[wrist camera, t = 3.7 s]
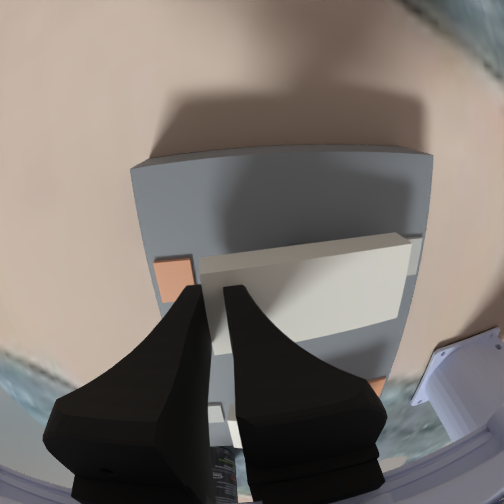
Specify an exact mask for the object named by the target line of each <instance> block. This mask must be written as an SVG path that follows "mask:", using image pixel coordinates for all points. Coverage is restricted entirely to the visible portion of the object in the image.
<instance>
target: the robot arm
mask: <svg viewBox="0 0 504 504" xmlns="http://www.w3.org/2000/svg"><path fill="white" fill-rule="evenodd" d="M223 294H224V301H225V308H226V315H227V322H228V329H229V336H230V343H231V349H232V354H233V362H234V384H235V416H236V421H237V425H238V430H239V435H240V439H241V444H242V448H243V453H244V457H245V463H246V472H247V481H248V485H249V487H250V491H251V495H252V498H253V502H246V503H232V504H504V499H503V500H501V499H502V498H503V497H504V342H503V341H502V340H501V339H500V338H499V337H498V335H499V333H500V328H499V327H496V328H493V329H491V330H489V331H486V332H484V333H481V334H478V335H476V336H473V337H471V338H468V339H465V340H462V341H460V342H457V343H454V344H451V345H448V346H445V347H442V348H439V349H437V350H435V352H434V353H433V355H432V357H431V360H430V362H429V364H428V367H427V369H426V371H425V374H424V376H423V378H422V380H421V382H420V384H419V386H418V388H417V391H416V393H415V395H414V397H413V399H412V401H411V405H412V406H415V405H418V404H421V403H423V402H426V401H430V403H431V405H432V406H433V408H434V410H435V412H436V413H437V415H438V417H439V419H440V420H441V422H442V424H443V426H444V428H445V429H446V431H447V433H448V435H449V437H450V439H451V441H452V442H453V443H451V444H449V445H447V446H445V447H443V448H441V449H439V450H437V451H435V452H433V453H431V454H429V455H427V456H424V457H422V458H420V459H418V460H415V461H413V462H410V463H408V464H406V465H403V466H401V467H398V468H396V469H393V470H390V471H387V472H385V473H382V471H381V468H380V466H379V463H378V460H377V458H378V457H379V451H378V449H377V446H376V444H375V442H376V441H377V439H378V437H379V435H380V433H381V431H382V430H383V428H384V426H385V423H386V420H387V414H386V410H385V408H384V406H383V404H382V402H381V400H380V399H379V397H378V396H377V394H376V393H375V391H374V390H373V388H372V387H371V385H370V384H369V383H368V381H367V380H366V379H363V378H361V377H358V376H356V375H353V374H351V373H348V372H346V371H343V370H341V369H338V368H336V367H334V366H332V365H330V364H328V363H326V362H324V361H322V360H321V359H319V358H317V357H316V356H314V355H313V354H311V353H309V352H308V351H306V350H305V349H303V348H302V347H300V346H299V345H298V344H296V343H295V342H294V341H292V340H291V339H290V338H289V337H288V336H286V335H285V334H284V333H283V332H282V331H281V330H280V329H279V328H278V327H276V326H275V325H274V323H273V322H272V321H271V320H270V319H269V318H268V317H267V316H266V315H265V314H264V313H263V311H262V310H261V309H260V308H259V306H258V305H257V304H256V303H255V301H254V300H253V298H252V297H251V295H250V294H249V292H248V291H247V289H246V287H245V286H244V285H234V286H226V287H223ZM211 356H212V341H211V336H210V330H209V325H208V320H207V314H206V309H205V303H204V298H203V292H202V286H201V284H197V285H186V287H185V288H184V289H183V291H182V292H181V293H180V295H179V296H178V298H177V299H176V301H175V302H174V304H173V305H172V306H171V308H170V309H169V310H168V312H167V313H166V314H165V316H164V317H163V318H162V320H161V321H160V322H159V323H158V324H157V326H156V327H155V328H154V329H153V330H152V332H151V333H150V334H149V335H148V336H147V337H146V338H145V339H144V340H143V341H142V342H141V343H140V344H139V345H138V346H137V347H136V348H135V349H134V350H133V351H132V352H131V353H129V354H128V355H127V356H126V357H124V358H123V359H122V360H121V361H119V362H118V363H117V364H116V365H114V366H113V367H112V368H111V369H109V370H108V371H106V372H105V373H103V374H102V375H100V376H99V377H97V378H96V379H94V380H92V381H91V382H89V383H88V384H86V385H84V386H82V387H80V388H79V389H77V390H75V391H73V392H71V393H69V394H67V395H65V396H63V397H61V398H58V399H57V400H56V402H55V404H54V407H53V409H52V412H51V414H50V417H49V420H48V423H47V425H46V428H45V431H44V434H43V442H44V444H45V446H46V448H47V450H48V451H49V452H50V453H51V454H52V455H53V456H54V457H55V458H56V459H57V460H58V461H59V462H61V463H62V464H63V465H64V466H65V467H66V468H67V469H69V470H70V471H71V472H72V473H73V474H75V477H74V483H73V487H72V489H70V488H67V487H63V486H59V485H56V484H53V483H49V482H46V481H43V480H40V479H37V478H34V477H31V476H28V475H25V474H23V473H20V472H17V471H15V470H12V469H10V468H8V467H5V466H3V465H0V504H216V496H215V489H214V481H213V471H212V461H211V450H210V437H209V420H208V396H209V382H210V369H211ZM499 500H501V501H499Z"/></svg>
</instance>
